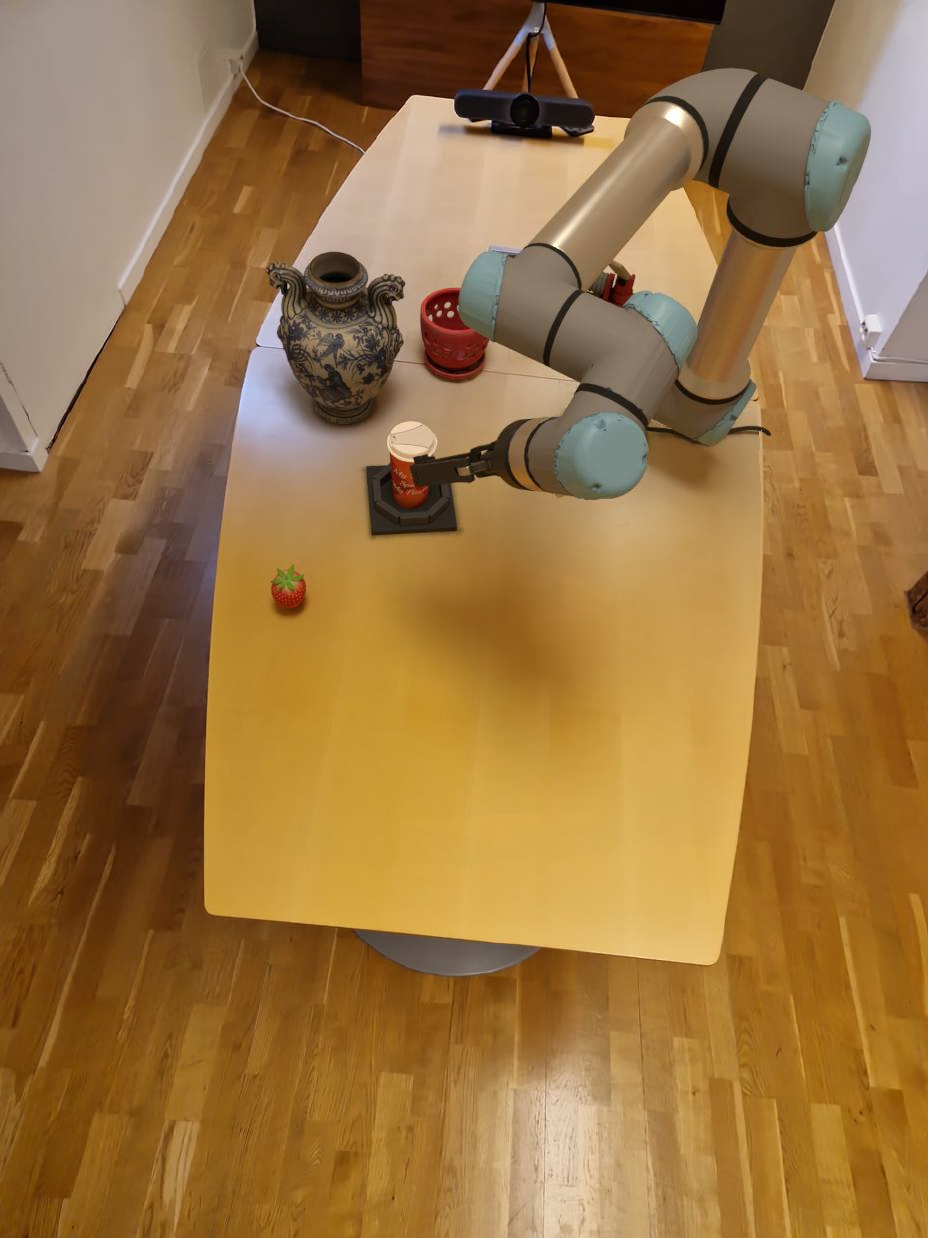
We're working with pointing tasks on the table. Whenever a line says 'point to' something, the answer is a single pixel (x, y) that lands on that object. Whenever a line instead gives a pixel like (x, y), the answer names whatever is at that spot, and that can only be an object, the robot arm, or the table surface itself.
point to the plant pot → (450, 338)
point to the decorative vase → (338, 332)
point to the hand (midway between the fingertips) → (467, 452)
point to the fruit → (288, 588)
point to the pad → (400, 520)
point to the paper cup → (409, 461)
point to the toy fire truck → (621, 288)
